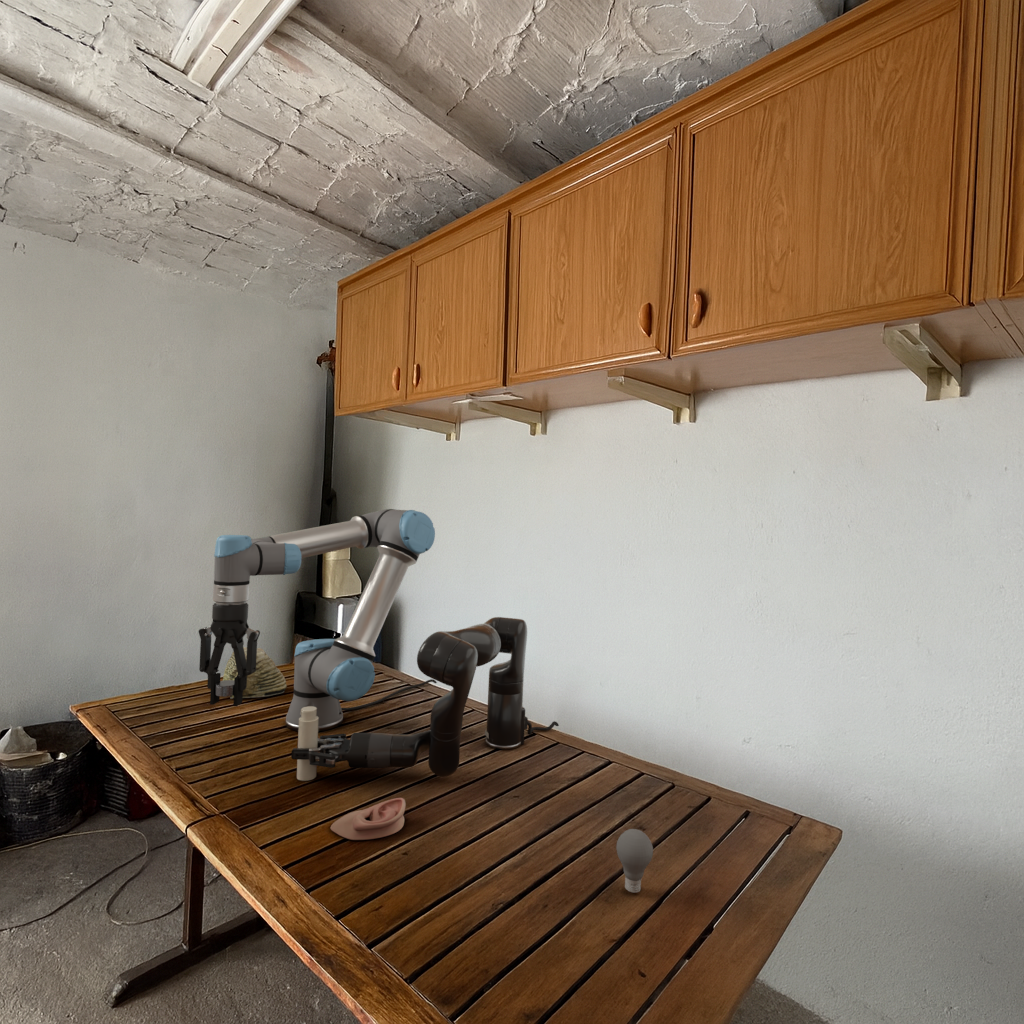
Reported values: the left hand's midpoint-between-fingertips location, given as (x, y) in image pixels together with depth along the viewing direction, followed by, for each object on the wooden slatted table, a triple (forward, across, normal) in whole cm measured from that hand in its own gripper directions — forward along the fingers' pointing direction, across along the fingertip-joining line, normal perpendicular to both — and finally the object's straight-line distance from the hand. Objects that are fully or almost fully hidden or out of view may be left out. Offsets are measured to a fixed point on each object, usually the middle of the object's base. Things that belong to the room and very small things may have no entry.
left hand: (226, 703), depth 145 cm
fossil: (+15, -17, +52) cm, 56 cm away
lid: (-4, 0, 0) cm, 4 cm away
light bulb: (+15, +89, -35) cm, 97 cm away
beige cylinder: (+15, +20, -2) cm, 25 cm away
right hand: (+9, +17, -2) cm, 20 cm away
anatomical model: (+15, +40, -21) cm, 47 cm away
